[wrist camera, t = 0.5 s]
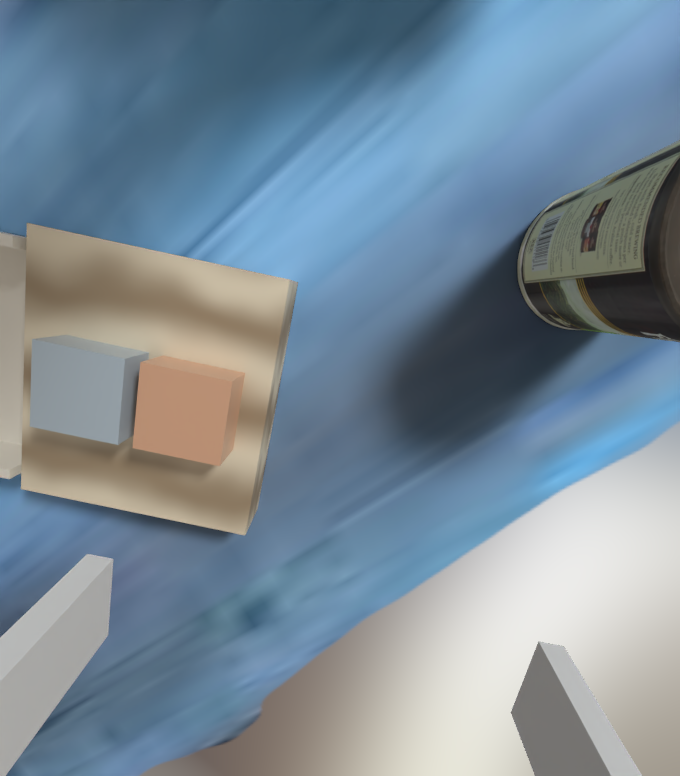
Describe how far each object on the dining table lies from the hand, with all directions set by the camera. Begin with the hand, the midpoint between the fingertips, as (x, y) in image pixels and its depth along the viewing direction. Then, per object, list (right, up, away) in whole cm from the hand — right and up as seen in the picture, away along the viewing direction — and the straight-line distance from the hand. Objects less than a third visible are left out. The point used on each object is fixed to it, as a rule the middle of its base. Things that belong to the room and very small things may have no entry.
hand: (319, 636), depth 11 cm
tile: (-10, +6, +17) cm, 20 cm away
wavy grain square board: (-14, +8, +21) cm, 26 cm away
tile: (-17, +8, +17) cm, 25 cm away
